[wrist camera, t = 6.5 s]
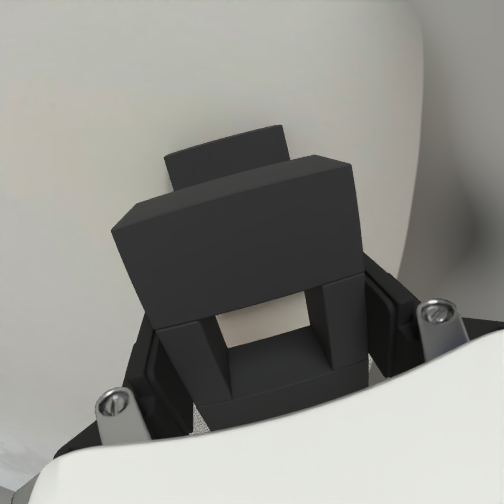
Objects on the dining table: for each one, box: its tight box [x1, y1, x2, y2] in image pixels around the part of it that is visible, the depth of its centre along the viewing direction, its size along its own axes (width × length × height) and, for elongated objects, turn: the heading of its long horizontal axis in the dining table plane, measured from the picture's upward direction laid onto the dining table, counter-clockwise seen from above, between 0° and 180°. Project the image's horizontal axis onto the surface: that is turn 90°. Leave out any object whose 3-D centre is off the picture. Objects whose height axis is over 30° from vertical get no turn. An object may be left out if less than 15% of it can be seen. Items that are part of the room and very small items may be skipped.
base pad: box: [164, 125, 290, 191], centre depth 22 cm, size 12×8×4 cm, turn 14°
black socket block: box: [111, 155, 369, 431], centre depth 11 cm, size 10×6×3 cm, turn 14°
